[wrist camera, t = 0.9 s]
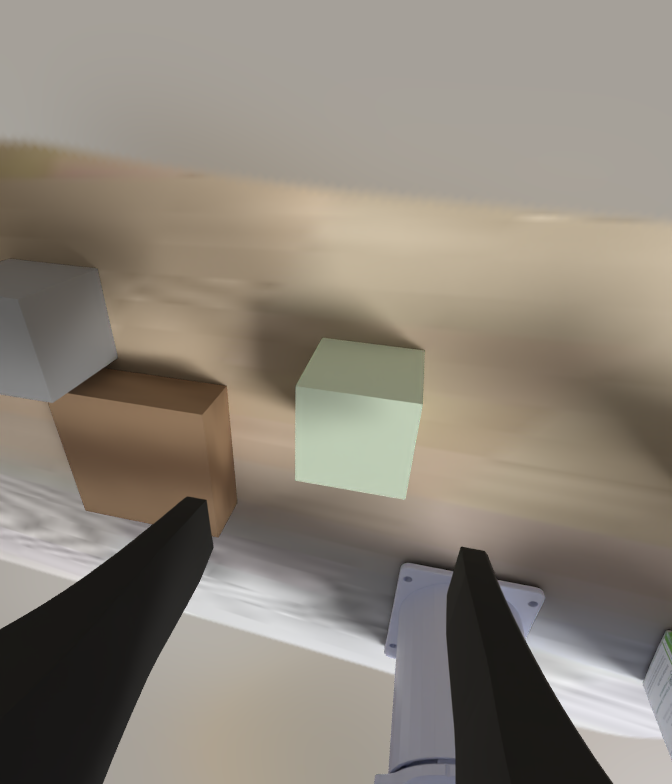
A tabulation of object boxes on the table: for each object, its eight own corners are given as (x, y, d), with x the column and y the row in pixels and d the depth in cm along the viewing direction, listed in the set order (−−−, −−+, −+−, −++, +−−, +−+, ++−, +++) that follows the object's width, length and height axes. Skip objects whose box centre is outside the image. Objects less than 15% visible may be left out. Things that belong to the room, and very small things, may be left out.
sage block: (410, 433, 21) (405, 499, 17) (319, 420, 21) (295, 480, 18) (424, 349, 19) (422, 404, 15) (322, 336, 19) (295, 386, 15)
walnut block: (239, 498, 26) (218, 537, 23) (118, 475, 27) (85, 510, 24) (229, 382, 22) (202, 414, 19) (86, 361, 23) (43, 389, 20)
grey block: (119, 356, 22) (52, 402, 18) (40, 345, 22) (-40, 387, 19) (98, 268, 20) (17, 298, 16) (11, 258, 20) (-87, 285, 16)
